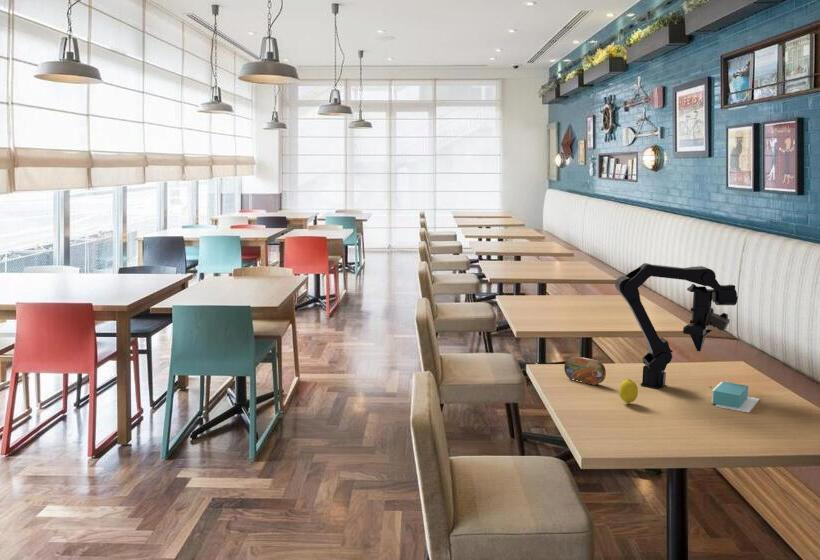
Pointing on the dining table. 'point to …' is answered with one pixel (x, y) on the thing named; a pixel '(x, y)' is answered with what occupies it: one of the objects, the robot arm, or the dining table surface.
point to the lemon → (628, 391)
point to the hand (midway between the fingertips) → (698, 351)
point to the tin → (585, 370)
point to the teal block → (729, 394)
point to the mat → (743, 405)
